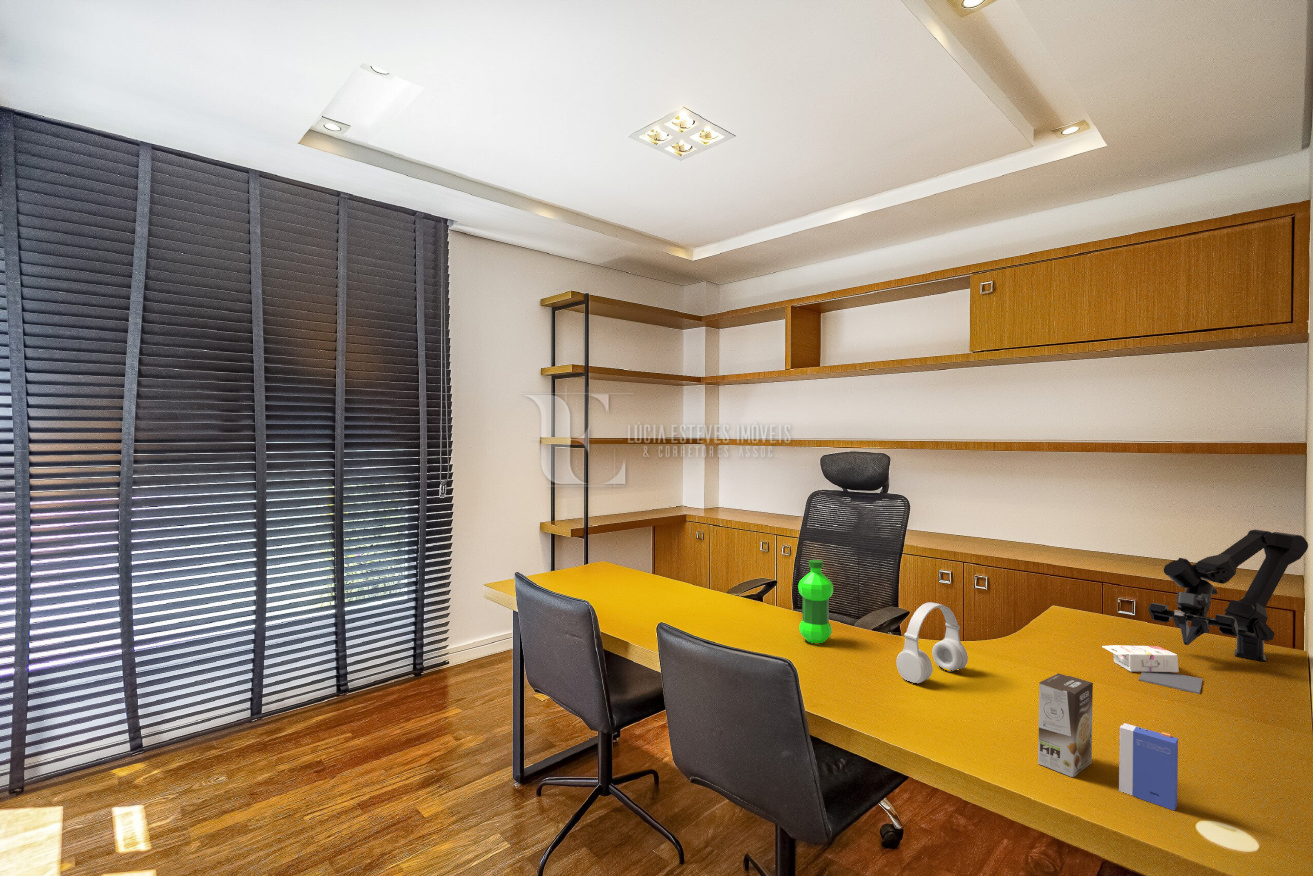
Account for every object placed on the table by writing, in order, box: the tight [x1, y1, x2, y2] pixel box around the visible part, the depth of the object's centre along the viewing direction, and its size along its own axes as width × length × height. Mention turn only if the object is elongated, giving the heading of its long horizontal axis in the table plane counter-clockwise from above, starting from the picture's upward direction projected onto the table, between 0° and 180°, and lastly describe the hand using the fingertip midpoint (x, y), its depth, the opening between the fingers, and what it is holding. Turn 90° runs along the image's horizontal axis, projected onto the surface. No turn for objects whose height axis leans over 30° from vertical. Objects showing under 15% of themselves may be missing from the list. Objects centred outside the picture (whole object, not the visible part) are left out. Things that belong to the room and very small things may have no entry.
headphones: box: [895, 601, 969, 684], centre depth 163 cm, size 20×8×19 cm, turn 121°
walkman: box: [1118, 722, 1179, 811], centre depth 109 cm, size 8×3×12 cm, turn 42°
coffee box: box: [1037, 673, 1094, 778], centre depth 120 cm, size 9×6×16 cm
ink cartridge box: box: [1101, 644, 1180, 673], centre depth 169 cm, size 9×5×15 cm
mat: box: [1138, 672, 1203, 695], centre depth 161 cm, size 12×12×1 cm
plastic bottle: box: [797, 559, 834, 644], centre depth 190 cm, size 10×10×25 cm
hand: (1185, 644), depth 170 cm, fingers closed
